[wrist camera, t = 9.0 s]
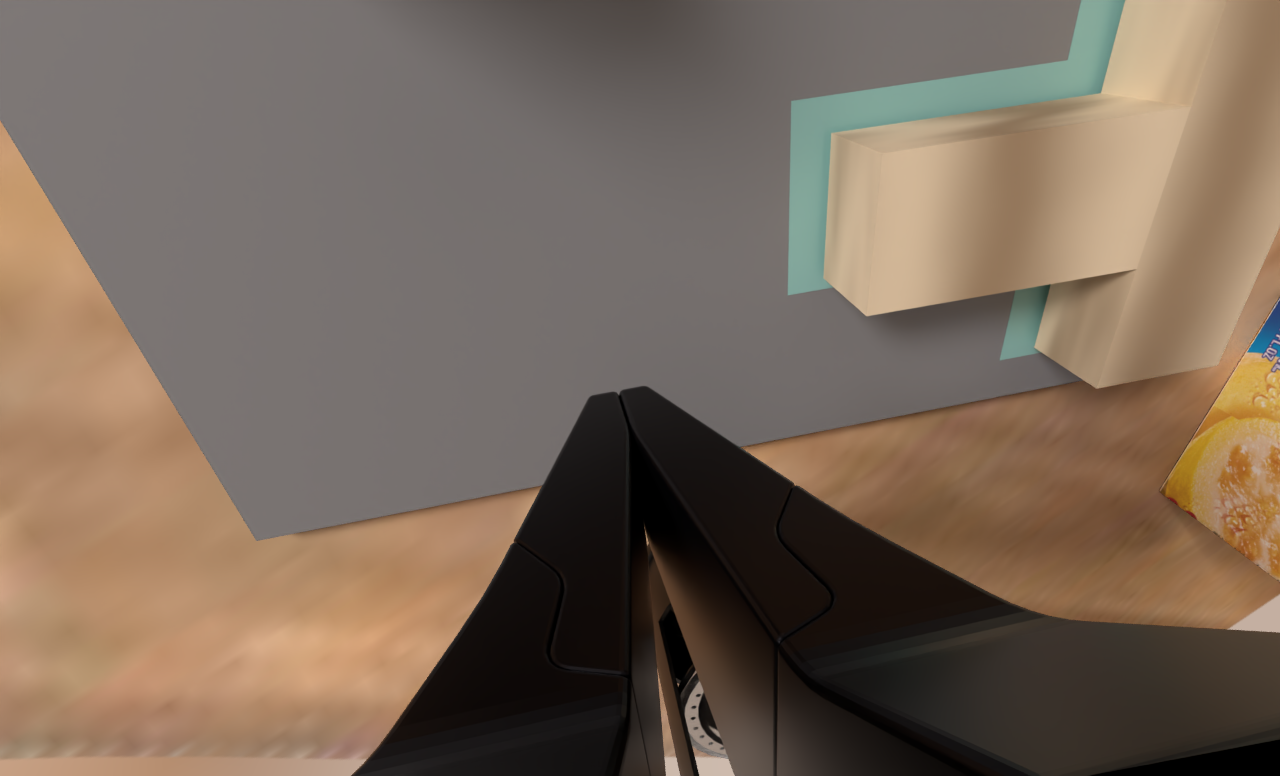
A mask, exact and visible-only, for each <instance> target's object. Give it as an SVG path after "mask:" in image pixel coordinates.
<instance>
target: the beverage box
mask: <svg viewBox="0 0 1280 776" xmlns="http://www.w3.org/2000/svg"><path fill="white" fill-rule="evenodd" d="M1159 492H1161V493H1162V494H1163V495H1164V496H1166V497H1167V498H1168V499H1170V500H1171V501H1172V502H1174V503H1175V504H1176V505H1178V506H1179V507H1180V508H1182V509H1183V510H1184V511H1186V512H1187V513H1188V514H1190V515H1191V516H1192V517H1194V518H1195V519H1196V520H1198V521H1199V522H1200V523H1202V524H1203V525H1204V526H1206V527H1207V528H1208V529H1210V530H1211V531H1212V532H1214V533H1215V534H1216V535H1218V536H1219V537H1220V538H1222V539H1223V540H1224V541H1226V542H1227V543H1228V544H1230V545H1231V546H1232V547H1234V548H1235V549H1236V550H1238V551H1239V552H1240V553H1241V554H1243V555H1244V556H1245V557H1247V558H1248V559H1249V560H1251V561H1252V562H1253V563H1255V564H1256V565H1257V566H1259V567H1260V568H1261V569H1263V570H1264V571H1265V572H1267V573H1268V574H1269V575H1271V576H1272V577H1273V578H1275V579H1276V580H1277V581H1279V582H1280V298H1279V299H1278V301H1277V302H1276V304H1275V306H1274V307H1273V309H1272V310H1271V312H1270V314H1269V315H1268V317H1267V318H1266V320H1265V322H1264V323H1263V325H1262V327H1261V328H1260V330H1259V331H1258V333H1257V335H1256V336H1255V338H1254V339H1253V341H1252V343H1251V344H1250V346H1249V347H1248V349H1247V351H1246V352H1245V354H1244V355H1243V357H1242V359H1241V360H1240V362H1239V363H1238V365H1237V367H1236V368H1235V370H1234V372H1233V373H1232V375H1231V376H1230V378H1229V380H1228V381H1227V383H1226V384H1225V386H1224V388H1223V389H1222V391H1221V392H1220V394H1219V396H1218V397H1217V399H1216V400H1215V402H1214V404H1213V405H1212V407H1211V408H1210V410H1209V412H1208V413H1207V415H1206V417H1205V418H1204V420H1203V421H1202V423H1201V425H1200V426H1199V428H1198V429H1197V431H1196V433H1195V434H1194V436H1193V437H1192V439H1191V441H1190V442H1189V444H1188V445H1187V447H1186V449H1185V450H1184V452H1183V453H1182V455H1181V457H1180V458H1179V460H1178V462H1177V463H1176V465H1175V466H1174V468H1173V470H1172V471H1171V473H1170V474H1169V476H1168V478H1167V479H1166V481H1165V482H1164V484H1163V486H1162V487H1161V489H1160V490H1159Z"/></svg>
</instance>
